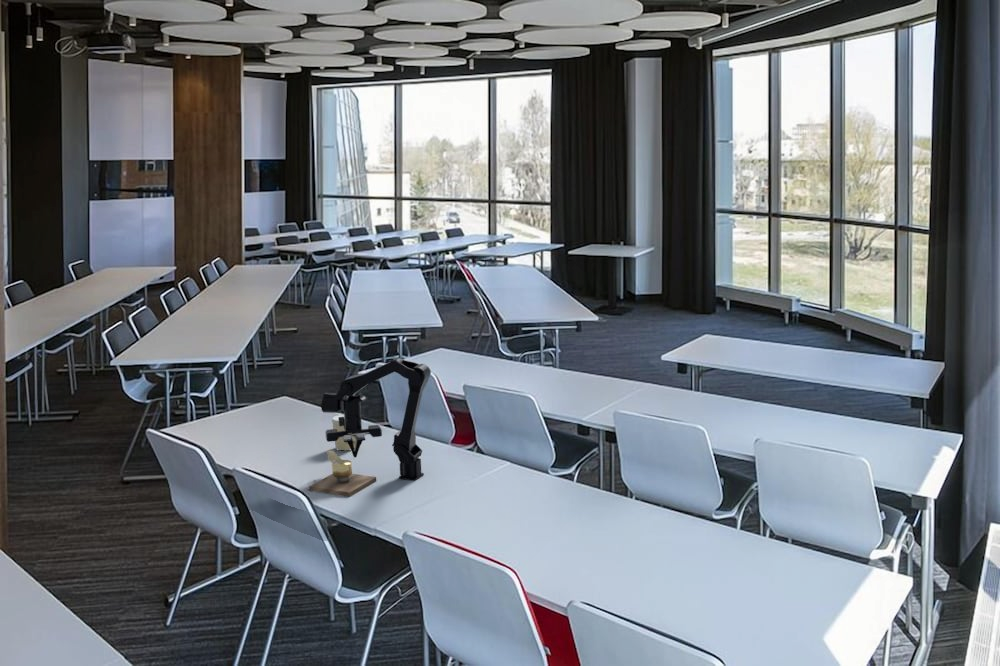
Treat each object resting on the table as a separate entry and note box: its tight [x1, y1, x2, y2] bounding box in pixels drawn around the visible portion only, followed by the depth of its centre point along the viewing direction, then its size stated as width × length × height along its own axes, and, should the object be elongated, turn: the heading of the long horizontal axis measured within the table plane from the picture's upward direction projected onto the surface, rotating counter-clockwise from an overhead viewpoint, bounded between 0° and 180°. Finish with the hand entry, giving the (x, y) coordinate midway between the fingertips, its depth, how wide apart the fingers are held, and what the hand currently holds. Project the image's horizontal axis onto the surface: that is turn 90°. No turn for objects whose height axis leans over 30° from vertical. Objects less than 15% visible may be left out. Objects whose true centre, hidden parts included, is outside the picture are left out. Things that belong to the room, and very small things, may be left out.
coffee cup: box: [331, 414, 355, 451], centre depth 347 cm, size 9×9×12 cm
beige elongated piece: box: [326, 450, 353, 478], centre depth 311 cm, size 18×6×4 cm, turn 25°
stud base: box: [308, 473, 377, 498], centre depth 306 cm, size 16×16×4 cm
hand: (355, 457), depth 318 cm, fingers closed
